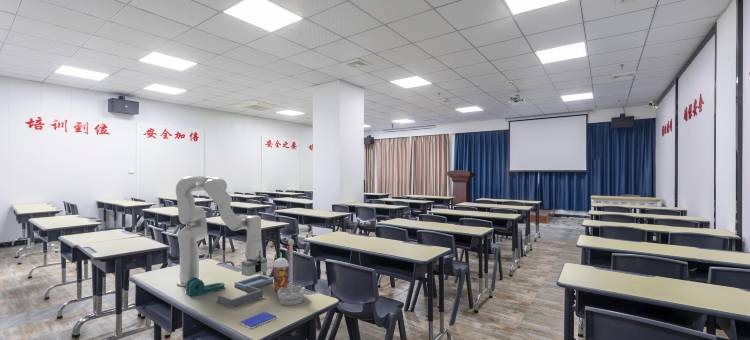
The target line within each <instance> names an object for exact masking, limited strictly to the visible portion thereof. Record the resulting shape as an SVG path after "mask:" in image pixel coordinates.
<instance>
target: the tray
mask: <svg viewBox="0 0 750 340" xmlns="http://www.w3.org/2000/svg"><path fill="white" fill-rule="evenodd" d="M271 284H274V277H269V276H267V275H262V274H260V275H256V276H253V277H252V276H251V277H249V278H245V279H243V280H240V281H235V282H234V288H236V289H239V290H241V291H244V292H246V286H247V285H249V286H252V287H255V288H258V289H260V288H262V287H265V286H267V285H271Z"/></svg>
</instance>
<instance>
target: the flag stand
mask: <svg viewBox="0 0 750 340" xmlns="http://www.w3.org/2000/svg"><path fill="white" fill-rule="evenodd" d="M287 244H288V246H286V247H285V249H286V250H287V252H288V254H289V284H288V286H287V288H285V289H284V287H281V288H279V290H277V292H276V294H277V297H278V298H279V303H280V304H282V305H284V306H285V305H286V306H287V305H288V306H291V305H293V306H294V305H297V304H300V303H301V302H303V299H304V296H305V294H306V289H305V286H303V287H302V285H297V284H296V286H295V287H294V286H293V285H294V283H293V282H294V281H293V280H294V276H293V275H294V273H293V272H294V265H293V264H294V263H293V262H294V261H293V260H294V259H293V257H294V252H293V251H294V247H293V246H294V244H295V240H294V239H291V238H290V239H288V242H287Z"/></svg>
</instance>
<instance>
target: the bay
mask: <svg viewBox="0 0 750 340" xmlns="http://www.w3.org/2000/svg"><path fill="white" fill-rule="evenodd" d="M245 293H246V294H243V295H240V296H237V297H234V298H230V297H228V296H225V295H221V294H216V302H217V304H218V303H219V304H221V305H222V306H223V305H224V306H226V307H228V308H231V309H233V308H235V307H236V308H237V307H238V306H241V305H244V304H247V303H250V302H253V301H256V300H259V299H261V298H263V295H264V293H263V290H262V289H260V288H255V287H252V286H249V285H247V286H246V291H245Z"/></svg>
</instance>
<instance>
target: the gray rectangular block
mask: <svg viewBox="0 0 750 340" xmlns="http://www.w3.org/2000/svg"><path fill="white" fill-rule="evenodd" d="M263 258H264V260H263V262H262V264H261V271H260V272H256V268H255V265H256V261H255V260H247V259H246V260H244V261H241V275H242V276H244V277H252V276H255V275H258V274H261V273H265V272H268V258H266V257H263ZM258 259H259V258H258ZM258 261H259V260H258Z"/></svg>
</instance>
